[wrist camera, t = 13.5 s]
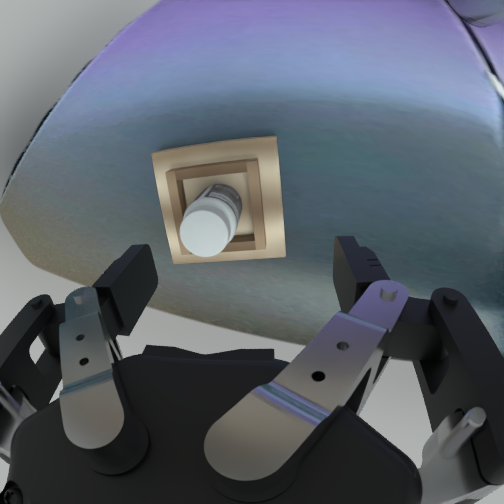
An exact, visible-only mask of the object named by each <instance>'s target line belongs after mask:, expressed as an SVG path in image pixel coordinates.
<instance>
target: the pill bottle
mask: <svg viewBox="0 0 504 504" xmlns="http://www.w3.org/2000/svg"><path fill="white" fill-rule="evenodd" d="M241 212H242V200H241V197H240V195H239V194H238V192H237V191H236V190H235V189H234V188H232V187H231V186H229V185H226V184H213V185H210V186H208V187H207V188H205V189H204V190H203V191H202V192H201V193H200V194H199V195H198V196H197V197H196V198H195V200H194V201H193V202H192V203H191V204H190V205H189V206H188V208H187V209H186V211H185V213H184V217H183V221H182V223H181V226H180V238H181V241H182V243H183V245H184V246H185V248H186V249H187V250H188V251H190V252H191V253H193V254H195V255H197V256H201V257H211V256H214V255H217V254H218V253H220V252H221V251H222V250H223V249H224V248H225V246H226V245H227V244H228V243H229V242H230V241H231V240H232V238H233V237H234V235H235V233H236V230H237V225H238V222H239V219H240V216H241Z"/></svg>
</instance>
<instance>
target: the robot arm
mask: <svg viewBox="0 0 504 504" xmlns="http://www.w3.org/2000/svg"><path fill="white" fill-rule="evenodd" d="M447 1H448V3H449V4H450V5H451V7H452V8H453V9H454V10H455V11H456V12H457V13H458V14H459V15H460V16H461V17H462V18H463V19H464V20H466V21H467V22H469V23H470V24H472V25H474V26H478V27H486V26H491V25H494V24H498V23H502V22H504V0H447ZM333 281H334V286H335V290H336V293H337V297H338V300H339V304H340V307H341V311H339V312H337V313H336V314H335V315H334V316H333V317H332V319H331V320H330V321H329V322H328V323H327V324H326V325H325V326H324V327H323V329H322V330H321V331H320V332H319V333H318V334H317V335H316V336H315V337H314V338H313V340H312V341H311V342H310V343H309V344H308V345H307V346H306V347H305V348H304V349H303V350H302V351H301V352H300V353H299V354H298V355H297V356H296V357H295V359H293V361H292V362H291V363H289V362H286V361H282V360H278V359H274V349H238V350H232V351H226V352H220V353H213V354H206V355H205V354H199V353H195V352H192V351H188V350H184V349H180V348H177V347H168V346H155V345H154V346H153V345H146V347H145V349H144V351H143V353H142V354H138V355H133V356H130V357H126V358H123V355H122V353H121V350H120V346H119V344H118V341H117V339H116V336H117V335H125V336H129V335H130V333H131V332H132V330H133V328H134V326H135V325H136V323H137V321H138V319H139V317H140V316H141V314H142V312H143V310H144V308H145V307H146V305H147V304H148V302H149V300H150V298H151V297H152V295H153V293H154V292H155V290H156V288H157V285H158V276H157V272H156V268H155V264H154V260H153V256H152V252H151V248H150V246H149V245H148V244H142V245H132V246H130V248H129V249H128V250H127V251H126V252H125V253H124V254H123V255H122V256H121V257H120V258H118V259H117V260H115V261H114V262H113V263H112V264H111V265H110V266H109V267H108V269H107V270H106V271H105V272H104V274H102V275H101V276H100V278H99V279H98V280H97V281H96V282H95V283H94V284H93V286H92V287H90V286H86V287H81V288H78V289H76V290H74V291H73V292H71V293H70V294H69V295H68V296H67V297H66V300H65V303H62V304H56V305H54V304H53V301H52V299H51V297H50V296H49V295H46V294H43V295H40V296H37V297H35V298H33V299H32V300H30V301H29V302H28V303H27V304H26V305H25V306H24V307H23V309H22V310H21V311H20V312H19V313H18V314H17V316H16V317H15V318H14V319H13V321H11V323H10V324H9V325H8V326H7V328H6V329H5V330H4V331H3V333H2V334H1V335H0V457H1V458H2V459H3V460H4V461H6V462H7V463H8V464H10V468H9V473H8V478H7V483H6V485H5V487H4V489H3V491H2V492H1V493H0V504H474V503H475V502H477V501H479V500H480V499H482V498H484V497H485V496H487V495H489V494H490V493H492V492H493V491H495V490H496V489H498V488H499V487H501V486H502V485H504V358H503V357H502V355H501V353H500V351H499V349H498V348H497V346H496V344H495V342H494V341H493V339H492V337H491V336H490V334H489V332H488V331H487V329H486V327H485V326H484V324H483V323H482V321H481V319H480V318H479V316H478V315H477V313H476V312H475V310H474V309H473V307H472V306H471V304H470V303H469V301H468V300H467V298H466V297H465V296H464V295H463V294H462V293H460V292H459V291H457V290H454V289H451V288H439V289H436V290H435V291H433V293H432V296H431V299H430V300H426V299H418V298H412V297H409V292H408V290H407V289H406V288H405V287H404V286H403V285H402V284H400V283H398V282H395V281H391V280H390V278H389V277H388V275H387V273H386V271H385V270H384V268H383V266H381V263H380V261H379V260H378V258H377V256H376V255H375V253H374V252H373V251H371V250H370V249H368V248H367V247H359V245H358V243H357V241H356V239H355V238H354V236H336V237H335V242H334V262H333ZM37 336H39V338H40V340H41V342H42V343H43V345H44V347H45V348H46V349H45V350H44V352H43V354H42V355H41V356H40V358H39V360H38V361H37V363H36V364H35V363H34V362H33V360H32V359H31V357H30V354H29V348H30V346H31V344H32V343H33V341H34V340H35V339H36V337H37ZM391 357H396V358H404V359H412V362H413V365H414V368H415V371H416V374H417V377H418V381H419V384H420V387H421V391H422V394H423V398H424V401H425V405H426V408H427V412H428V416H429V420H430V424H431V428H432V432H433V434H432V435H431V436H430V438H429V439H428V440H427V442H426V443H425V445H424V447H423V452H422V458H423V459H422V465H421V468H419V469H417V467H416V465H415V464H414V463H413V461H412V460H411V459H410V458H409V457H408V456H407V455H406V454H404V453H403V452H402V451H401V450H400V449H398V448H397V447H396V446H394V445H393V444H392V443H391V442H389V441H388V440H387V439H386V438H384V437H383V436H382V435H381V434H380V433H378V432H377V431H376V430H375V429H374V428H372V427H371V426H370V425H369V424H368V423H366V422H365V421H364V420H363V419H361V418H360V417H359V414H360V412H361V411H362V409H363V407H364V405H365V403H366V401H367V399H368V397H369V395H370V393H371V391H372V390H373V388H374V387H375V385H376V383H377V382H378V380H379V378H380V376H381V375H382V373H383V371H384V369H385V368H386V366H387V364H388V362H389V360H390V358H391ZM61 379H62V380H63V390H61V391H60V394H59V398H58V399H56V400H55V401H53V402H51V403H50V404H49V402H50V400H51V398H52V396H53V394H54V392H55V390H56V389H57V387H58V385H59V383H60V381H61Z"/></svg>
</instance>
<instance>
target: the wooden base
mask: <svg viewBox="0 0 504 504" xmlns="http://www.w3.org/2000/svg"><path fill="white" fill-rule="evenodd" d="M152 160H153V166H154V172H155V177H156V183H157V188H158V194H159V199H160V204H161V209H162V214H163V218H164V223H165V228H166V232H167V237H168V241H169V246H170V250H171V254H172V258H173V263H174V264H181V263H198V262H214V261H230V260H246V259H261V258H277V257H286V251H285V236H284V221H283V207H282V194H281V182H280V170H279V159H278V148H277V137H276V135H274V136H262V137H251V138H241V139H232V140H224V141H216V142H209V143H202V144H195V145H189V146H183V147H177V148H171V149H166V150H161V151H158V152H155V153H152ZM213 184H226V185H229V186H231V187H232V188H234V189H235V190H236V191H237V192H238V194H239V195H240V197H241V200H242V212H241V216H240V219H239V222H238V225H237V230H236V233H235V235H234V237H233V238H232V240H231V241H230V242H229V243H228V244H227V245H226V246H225V248H224V249H223V250H222V251H221V252H220V253H218V254H217V255H214V256H211V257H201V256H197V255H195V254H193V253H191V252H190V251H188V250H187V249H186V248H185V246H184V245H183V243H182V241H181V238H180V226H181V223H182V221H183V217H184V213H185V211H186V209H187V208H188V206H189V205H190V204H191V203H192V202H193V201H194V200H195V198H196V197H197V196H198V195H199V194H200V193H201V192H202V191H203V190H204V189H205V188H207V187H208V186H210V185H213Z"/></svg>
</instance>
